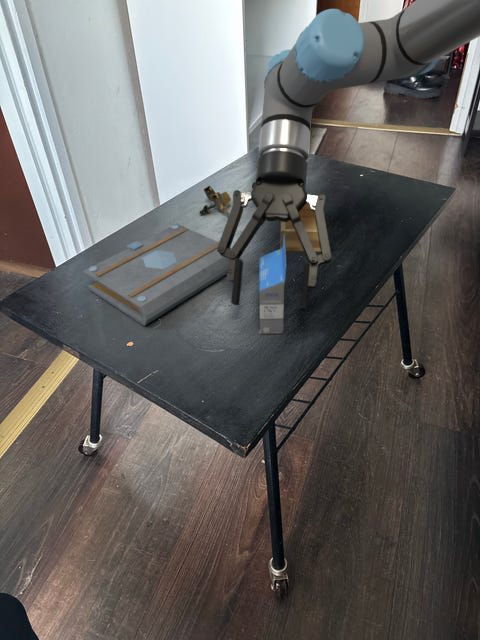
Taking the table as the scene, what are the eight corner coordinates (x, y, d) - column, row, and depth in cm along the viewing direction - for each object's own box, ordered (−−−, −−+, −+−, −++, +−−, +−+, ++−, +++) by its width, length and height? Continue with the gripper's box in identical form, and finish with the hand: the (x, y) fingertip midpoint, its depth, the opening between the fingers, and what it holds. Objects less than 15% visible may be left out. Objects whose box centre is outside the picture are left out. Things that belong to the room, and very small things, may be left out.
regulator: (248, 229, 98) (224, 190, 107) (243, 216, 95) (218, 176, 104) (216, 246, 98) (194, 205, 107) (209, 233, 95) (188, 192, 104)
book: (148, 330, 73) (142, 305, 70) (87, 290, 82) (80, 265, 79) (239, 271, 85) (238, 247, 82) (178, 241, 94) (175, 218, 90)
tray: (320, 218, 99) (322, 199, 96) (323, 251, 89) (325, 231, 86) (281, 218, 100) (282, 199, 97) (280, 251, 90) (280, 230, 87)
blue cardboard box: (259, 299, 78) (258, 233, 71) (282, 299, 78) (284, 232, 70) (258, 334, 72) (257, 266, 64) (284, 334, 71) (287, 265, 63)
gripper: (355, 172, 74) (343, 315, 72) (216, 167, 77) (201, 303, 75) (360, 150, 66) (347, 309, 64) (206, 146, 70) (189, 297, 68)
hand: (268, 306), depth 70 cm, fingers open, 9 cm apart
